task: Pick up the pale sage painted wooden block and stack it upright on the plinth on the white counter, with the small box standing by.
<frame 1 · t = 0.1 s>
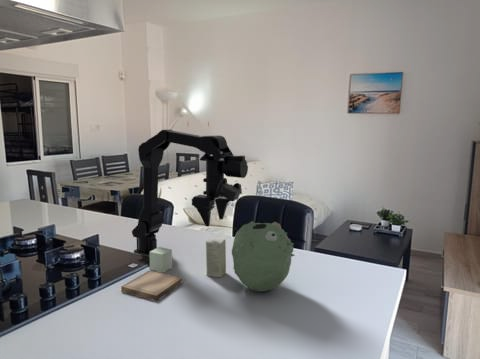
hand: (214, 222, 117), 15 cm above the kitchen counter, fingers open, 9 cm apart
plinth: (152, 286, 103), on the kitchen counter
box: (216, 274, 113), on the kitchen counter
green bumpy vase: (260, 289, 104), on the kitchen counter
block: (161, 268, 116), on the kitchen counter
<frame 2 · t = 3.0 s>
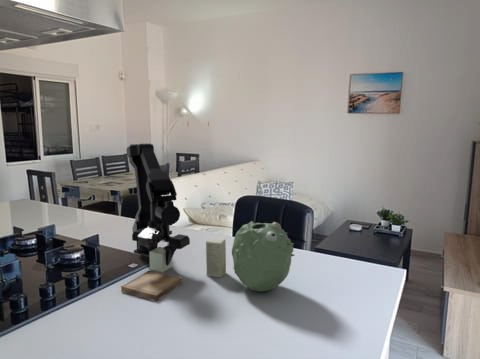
hand: (160, 263, 116), 2 cm above the kitchen counter, fingers closed on block, 5 cm apart
block: (161, 268, 116), on the kitchen counter, touching gripper
everything else where it was.
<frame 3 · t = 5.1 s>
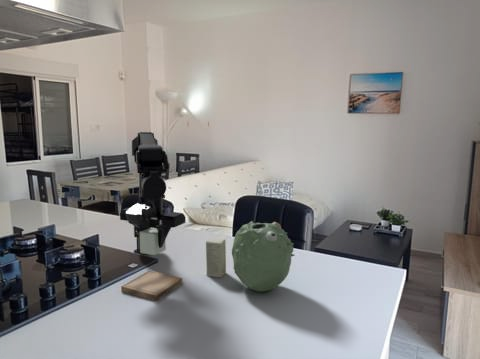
hand: (152, 246, 102), 12 cm above the kitchen counter, fingers closed on block, 5 cm apart
block: (153, 251, 102), point 10 cm above the kitchen counter, touching gripper
everything else where it was.
when the fingers open (4 cm above the kitchen counter, at t = 7.3 s): block drops 1 cm, resting on plinth.
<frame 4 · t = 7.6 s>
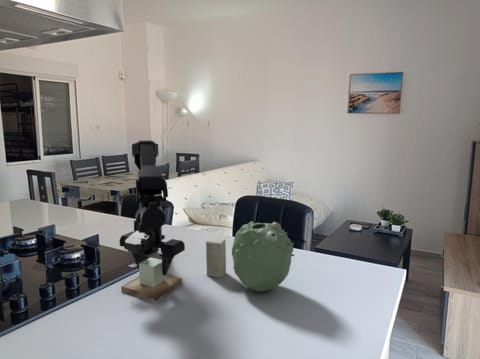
hand: (152, 272, 103), 4 cm above the kitchen counter, fingers open, 8 cm apart
block: (152, 281, 103), point 2 cm above the kitchen counter, touching plinth
everything else where it was.
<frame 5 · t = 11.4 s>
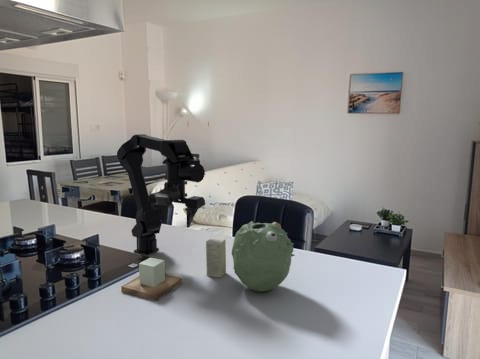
hand: (176, 225, 119), 13 cm above the kitchen counter, fingers open, 9 cm apart
nothing on the kitchen counter moved.
at the end: block inside the target area on the plinth (0.0 cm from its centre), point 1.5 cm above the plinth's base; block tilted 0°; block touching plinth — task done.
